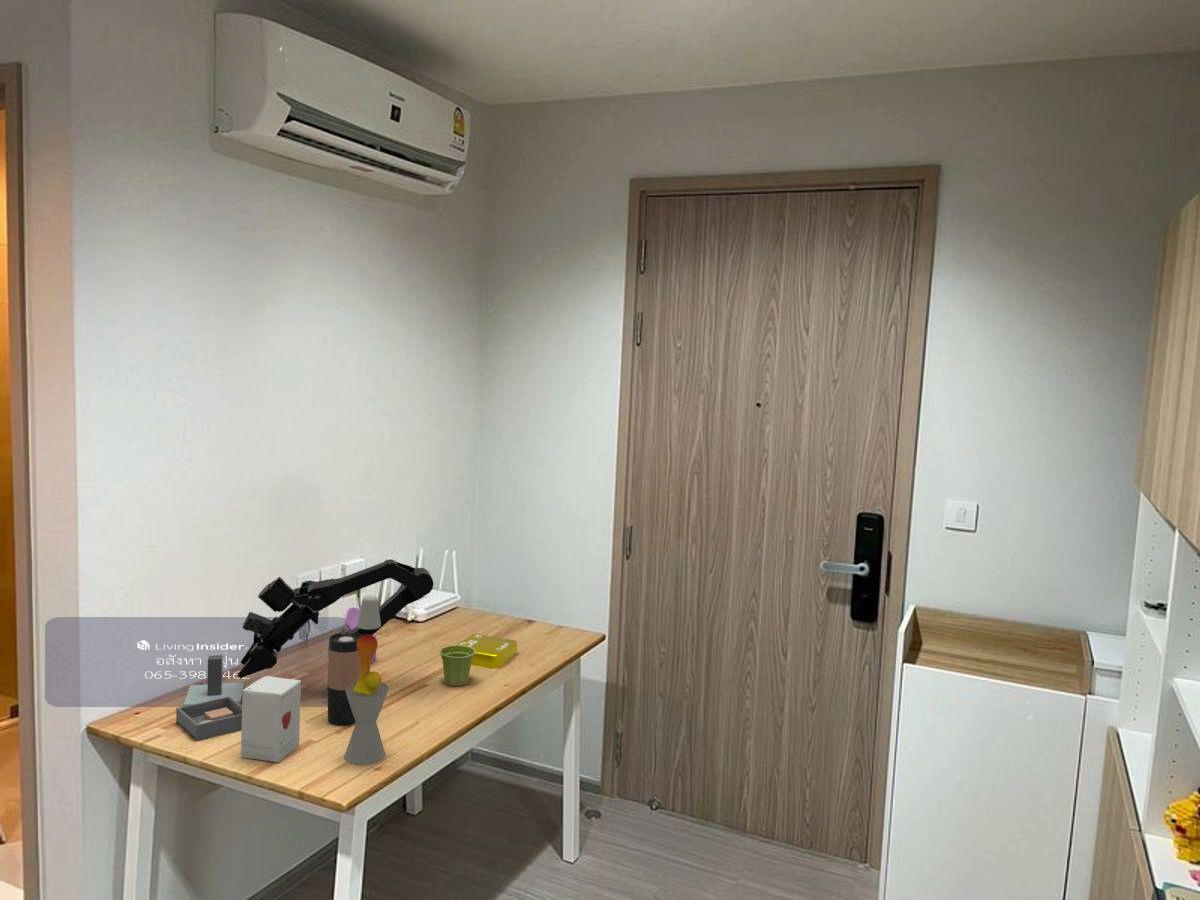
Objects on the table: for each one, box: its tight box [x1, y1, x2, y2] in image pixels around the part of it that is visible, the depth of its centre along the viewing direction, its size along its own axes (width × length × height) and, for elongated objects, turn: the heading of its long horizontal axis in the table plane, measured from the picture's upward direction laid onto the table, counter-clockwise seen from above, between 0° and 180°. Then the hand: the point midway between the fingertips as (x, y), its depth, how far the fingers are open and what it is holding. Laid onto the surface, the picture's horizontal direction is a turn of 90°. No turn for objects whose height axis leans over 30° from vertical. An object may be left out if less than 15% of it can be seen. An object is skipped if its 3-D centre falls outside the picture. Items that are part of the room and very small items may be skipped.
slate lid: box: [182, 654, 245, 707], centre depth 216 cm, size 12×12×11 cm
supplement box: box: [240, 675, 302, 763], centre depth 191 cm, size 9×9×15 cm
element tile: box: [456, 633, 518, 670], centre depth 258 cm, size 15×15×5 cm
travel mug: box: [327, 632, 362, 727], centre depth 209 cm, size 8×8×20 cm
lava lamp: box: [343, 595, 390, 766], centre depth 191 cm, size 9×9×35 cm
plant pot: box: [439, 644, 476, 687], centre depth 237 cm, size 9×9×9 cm
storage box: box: [175, 696, 242, 742], centre depth 203 cm, size 12×12×4 cm
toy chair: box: [344, 607, 378, 664], centre depth 248 cm, size 8×9×15 cm
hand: (240, 670), depth 218 cm, fingers open, 9 cm apart
